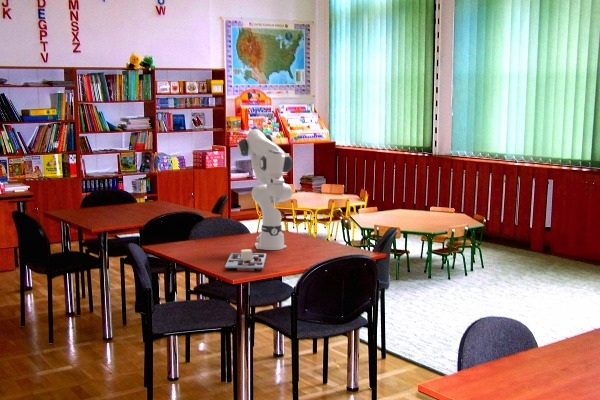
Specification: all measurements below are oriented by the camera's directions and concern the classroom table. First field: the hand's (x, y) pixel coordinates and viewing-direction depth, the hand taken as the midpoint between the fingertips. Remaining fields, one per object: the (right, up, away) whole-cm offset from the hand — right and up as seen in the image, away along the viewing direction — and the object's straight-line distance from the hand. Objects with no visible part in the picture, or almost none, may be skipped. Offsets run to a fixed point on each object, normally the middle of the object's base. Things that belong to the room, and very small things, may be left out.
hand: (274, 204), depth 399 cm
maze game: (-15, -33, -11) cm, 38 cm away
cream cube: (-14, -30, -12) cm, 35 cm away
